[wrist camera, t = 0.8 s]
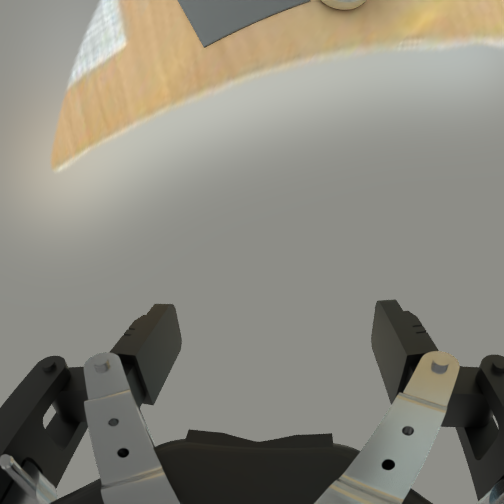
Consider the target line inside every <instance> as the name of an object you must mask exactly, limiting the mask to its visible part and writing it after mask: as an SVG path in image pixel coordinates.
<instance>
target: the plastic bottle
mask: <svg viewBox="0 0 504 504" xmlns="http://www.w3.org/2000/svg"><path fill="white" fill-rule="evenodd" d="M321 1H322V2H323V3H325V4H326V5H328V6H330V7H332V8H335V9H340V10H349V9H354V8H357V7H359V6H360V5H362V4H363V3H364V2H365V1H366V0H321Z"/></svg>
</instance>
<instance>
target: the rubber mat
mask: <svg viewBox="0 0 504 504" xmlns="http://www.w3.org/2000/svg"><path fill="white" fill-rule="evenodd" d="M309 1H310V0H178V2H179V4H180V5H181V7H182V9H183V11H184V12H185V14H186V16H187V18H188V19H189V21H190V23H191V25H192V27H193V28H194V30H195V32H196V34H197V36H198V37H199V39H200V41H201V43H202V45H203V47H207V46H208V45H210V44H212V43H214V42H216V41H218V40H220V39H222V38H224V37H226V36H228V35H230V34H232V33H234V32H236V31H238V30H240V29H242V28H244V27H246V26H249V25H251V24H253V23H255V22H258V21H260V20H262V19H265V18H267V17H269V16H272V15H274V14H277V13H279V12H282V11H284V10H287V9H290V8H292V7H295V6H298V5H301V4H303V3H306V2H309Z"/></svg>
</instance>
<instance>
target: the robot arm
mask: <svg viewBox="0 0 504 504" xmlns="http://www.w3.org/2000/svg"><path fill="white" fill-rule="evenodd" d="M181 341H182V340H181V333H180V329H179V324H178V319H177V314H176V309H175V307H174V305H173V304H155V305H154V306H153V307H152V308H151V310H150V311H149V312H148V313H147V315H143V316H141V317H140V318H138V319H137V320H135V321H134V322H133V323H132V325H131V326H130V327H129V330H127V331H126V332H125V333H124V335H123V336H122V337H121V338H120V340H119V341H118V342H117V344H116V345H115V346H114V347H113V349H112V350H111V351H110V352H108V353H107V352H105V353H100V354H96V355H94V356H93V357H91V358H89V359H88V360H87V361H86V362H85V364H84V367H72V368H68V366H67V364H66V362H65V360H64V358H62V357H60V356H50V357H47V358H45V359H43V360H41V361H40V362H38V363H37V364H36V366H35V367H34V368H33V369H32V370H31V371H30V373H29V374H28V375H27V376H26V377H25V378H24V380H23V381H22V382H21V383H20V384H19V385H18V387H17V388H16V389H15V390H14V392H13V393H12V394H11V395H10V396H9V398H8V399H7V400H6V401H5V403H4V404H3V405H2V407H1V408H0V504H433V503H431V502H430V501H428V500H427V499H425V498H424V497H422V496H421V495H420V494H418V493H417V492H415V491H414V490H412V489H411V486H412V485H413V483H414V481H415V479H416V477H417V475H418V473H419V472H420V470H421V468H422V466H423V464H424V462H425V460H426V458H427V456H428V453H429V451H430V449H431V447H432V445H433V443H434V440H435V438H436V436H437V433H438V431H439V428H440V426H443V427H456V430H457V433H458V435H459V439H460V442H461V444H462V447H463V451H464V454H465V456H466V459H467V463H468V466H469V469H470V473H471V476H472V480H473V483H474V486H475V490H476V494H477V498H478V503H477V504H504V357H503V356H500V355H489V356H486V357H485V358H484V359H483V360H482V361H481V364H480V367H479V368H478V367H462V366H459V362H458V361H457V359H456V358H455V357H454V356H452V355H450V354H448V353H446V352H441V351H438V349H437V347H436V346H435V344H434V342H433V341H432V340H431V338H430V336H429V335H428V333H426V330H425V328H424V327H423V326H422V324H421V322H420V321H419V319H418V318H417V317H416V316H415V315H413V314H412V313H410V312H409V311H403V310H402V308H401V307H400V305H399V304H398V302H397V301H396V300H383V301H377V303H376V307H375V314H374V322H373V329H372V337H371V342H372V349H373V352H374V355H375V358H376V361H377V363H378V366H379V369H380V372H381V375H382V378H383V381H384V384H385V387H386V390H387V393H388V396H389V399H390V402H391V407H390V408H389V410H388V412H387V413H386V415H385V416H384V418H383V419H382V421H381V422H380V424H379V426H378V427H377V428H376V430H375V431H374V433H373V435H372V436H371V437H370V439H369V440H368V442H367V443H366V444H365V446H364V447H363V449H362V450H361V451H359V450H356V449H354V448H351V447H348V446H345V445H341V444H334V443H333V439H332V433H331V434H315V435H314V434H313V435H294V436H289V437H284V438H279V439H274V440H268V441H263V442H255V441H251V440H247V439H243V438H239V437H235V436H232V435H228V434H225V433H218V432H206V431H198V430H189V431H188V434H187V437H186V439H180V440H175V441H170V442H167V443H164V444H161V445H158V446H155V443H154V441H153V439H152V436H151V434H150V432H149V430H148V427H147V425H146V422H145V420H144V418H143V415H142V413H141V411H140V406H141V404H142V403H144V404H149V405H154V403H155V401H156V399H157V397H158V395H159V392H160V391H161V389H162V387H163V385H164V383H165V381H166V378H167V376H168V374H169V372H170V370H171V368H172V366H173V364H174V362H175V360H176V358H177V356H178V354H179V352H180V350H181V344H182V343H181ZM51 404H52V405H53V407H54V409H55V410H56V414H55V415H54V417H53V418H52V420H51V421H50V423H49V424H48V426H47V427H46V429H45V428H44V426H43V417H44V414H45V413H46V412H47V410H48V409H49V407H50V406H51ZM493 415H494V416H495V418H496V420H497V423H498V427H499V430H498V428H497V426H496V423H495V421H494V419H493ZM87 428H88V429H89V434H90V438H91V442H92V447H93V452H94V456H95V459H96V464H97V467H98V471H99V475H100V479H98V480H96V481H94V482H92V483H90V484H88V485H86V486H84V487H82V488H80V489H78V490H76V491H74V492H72V493H70V494H68V495H66V496H64V497H61V498H59V499H57V491H56V488H57V485H58V483H59V482H60V480H61V478H62V475H63V473H64V472H65V470H66V468H67V465H68V464H69V462H70V460H71V458H72V456H73V454H74V452H75V450H76V448H77V447H78V445H79V443H80V441H81V439H82V437H83V435H84V433H85V432H86V430H87Z"/></svg>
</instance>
